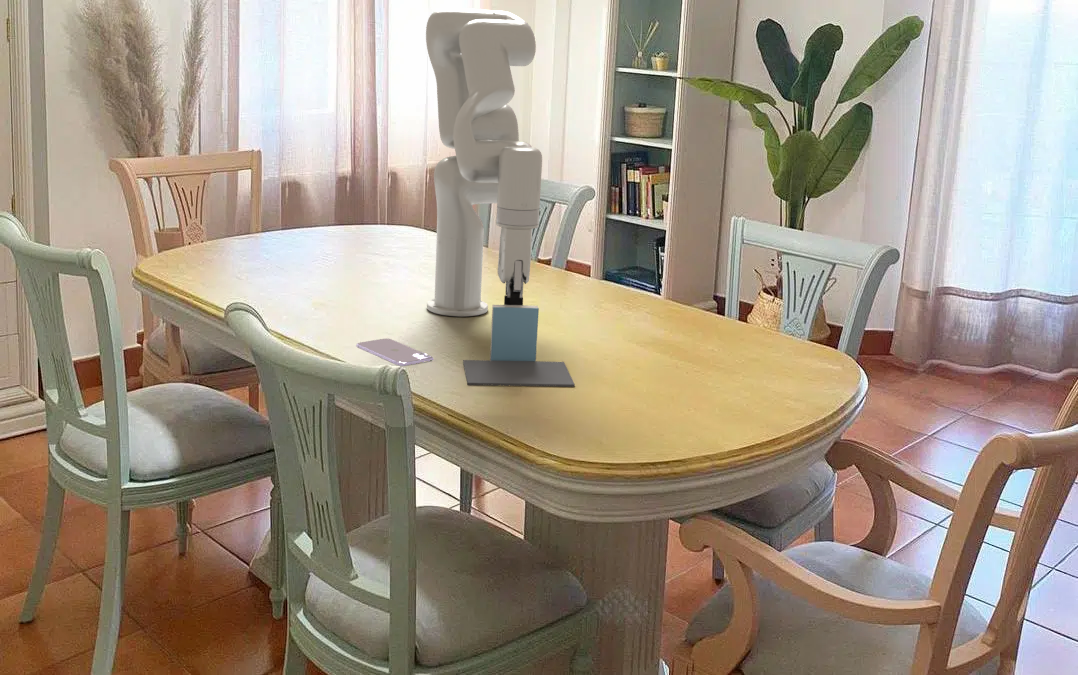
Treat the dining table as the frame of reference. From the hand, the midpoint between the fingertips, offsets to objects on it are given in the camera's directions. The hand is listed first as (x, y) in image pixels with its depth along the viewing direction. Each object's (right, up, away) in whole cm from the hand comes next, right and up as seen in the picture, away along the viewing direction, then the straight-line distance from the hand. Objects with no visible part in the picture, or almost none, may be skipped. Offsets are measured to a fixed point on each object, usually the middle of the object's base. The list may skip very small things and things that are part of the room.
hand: (512, 317), depth 212 cm
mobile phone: (-21, -7, -1) cm, 22 cm away
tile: (0, -8, -2) cm, 8 cm away
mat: (+1, -10, -10) cm, 14 cm away
